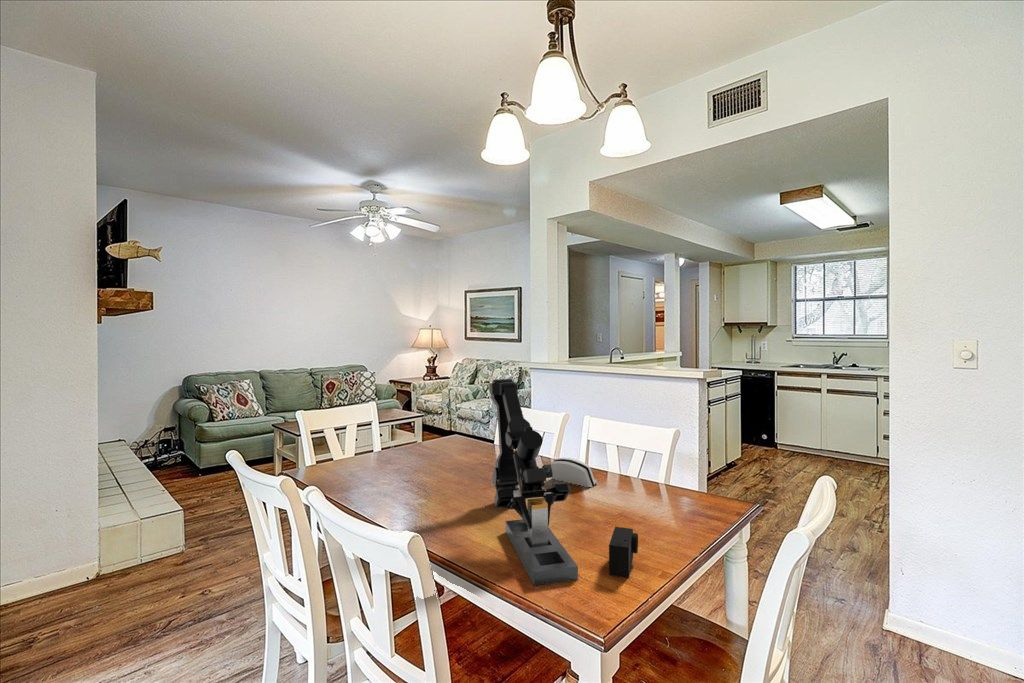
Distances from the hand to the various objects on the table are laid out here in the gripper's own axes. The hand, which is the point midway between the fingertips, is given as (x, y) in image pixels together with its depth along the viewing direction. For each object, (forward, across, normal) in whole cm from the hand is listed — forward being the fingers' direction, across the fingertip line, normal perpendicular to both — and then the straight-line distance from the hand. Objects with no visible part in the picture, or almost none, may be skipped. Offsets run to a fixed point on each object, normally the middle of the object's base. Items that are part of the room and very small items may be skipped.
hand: (539, 527), depth 115 cm
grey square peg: (+4, 0, +6) cm, 7 cm away
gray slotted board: (+4, 0, +6) cm, 7 cm away
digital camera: (+12, +18, -2) cm, 21 cm away
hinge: (-30, +27, +40) cm, 57 cm away
